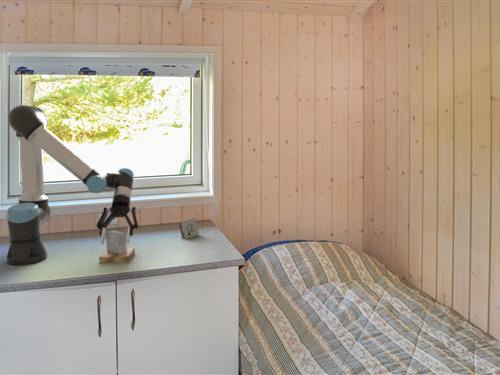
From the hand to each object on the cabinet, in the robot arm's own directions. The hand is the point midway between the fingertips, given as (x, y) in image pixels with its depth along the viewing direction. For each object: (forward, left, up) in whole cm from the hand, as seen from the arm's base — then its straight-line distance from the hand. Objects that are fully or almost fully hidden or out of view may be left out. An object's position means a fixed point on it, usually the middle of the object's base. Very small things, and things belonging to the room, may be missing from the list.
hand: (114, 242), depth 174 cm
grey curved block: (0, +3, -5) cm, 6 cm away
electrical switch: (+28, +34, -8) cm, 45 cm away
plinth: (0, +3, -8) cm, 8 cm away
